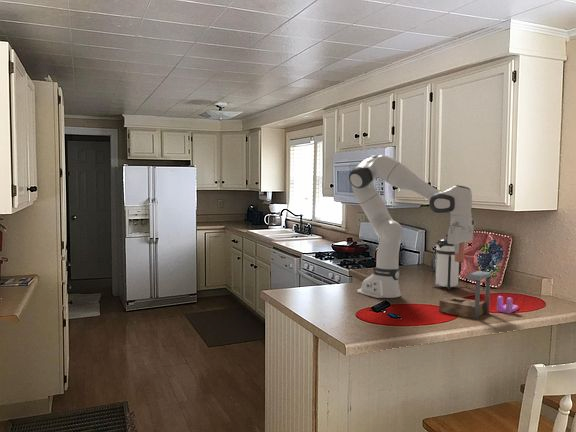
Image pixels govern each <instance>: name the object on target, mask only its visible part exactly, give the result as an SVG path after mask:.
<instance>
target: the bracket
mask: <svg viewBox="0 0 576 432" xmlns="http://www.w3.org/2000/svg"><path fill="white" fill-rule="evenodd" d="M505 301H506V302H505V303H506V304H504V296H502V295H498V296H497V298H496V312H498V313H499V312H500V313H505V314H512V313H513V312H515V311H517V310H518V309H519V305H517V304H513V303H514V302H513V301H514V300H513V298H512V297H510V296H509V297H507V298H506V300H505Z"/></svg>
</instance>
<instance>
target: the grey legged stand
mask: <svg viewBox="0 0 576 432" xmlns="http://www.w3.org/2000/svg"><path fill="white" fill-rule="evenodd" d="M491 277H492V272H489V271H481V270H477V271H474V272H470V273H468V274H466V275H465V279H466V280H474V281H475V297H474V300H475V316H474V318H473V319H475V320H480V316H479V304H480V300H481V299H480V298H481V281H482V280H485V295H484V297H485V298H484V302H485V313H484V314H485V315H489V314H490V298H491V294H490V293H491Z"/></svg>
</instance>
